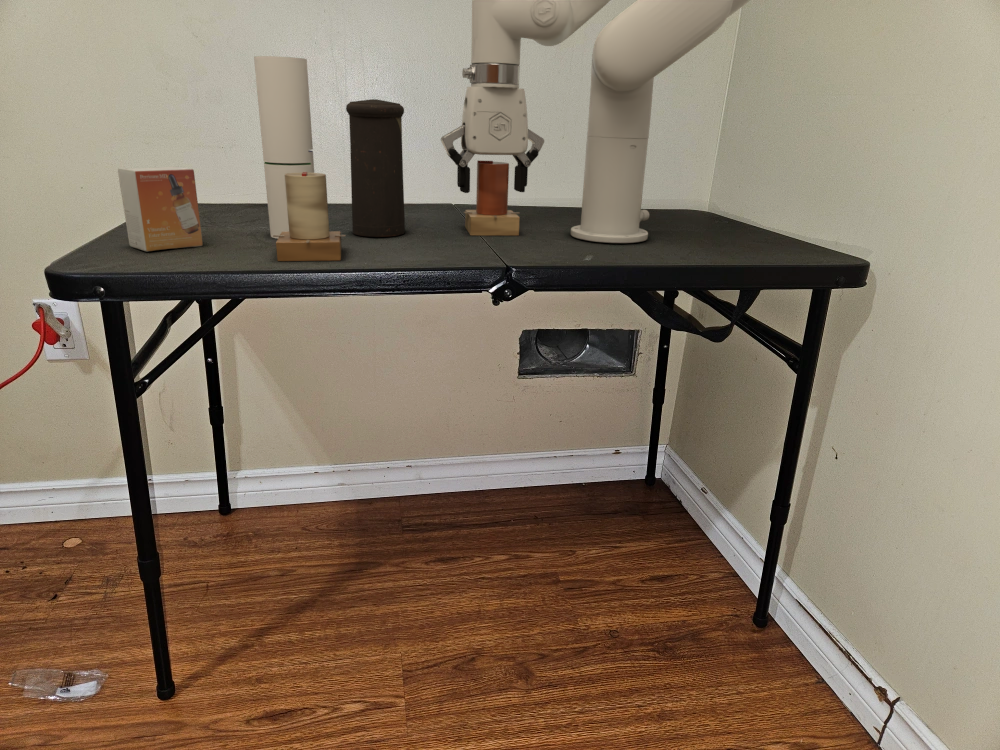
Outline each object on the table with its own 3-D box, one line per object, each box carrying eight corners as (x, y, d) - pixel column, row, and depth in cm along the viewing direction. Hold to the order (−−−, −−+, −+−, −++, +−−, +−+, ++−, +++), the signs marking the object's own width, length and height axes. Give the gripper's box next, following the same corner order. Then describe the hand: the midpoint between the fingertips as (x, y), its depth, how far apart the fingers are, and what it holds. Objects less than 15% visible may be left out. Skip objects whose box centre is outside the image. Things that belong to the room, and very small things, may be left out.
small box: (145, 253, 90) (132, 170, 86) (128, 246, 94) (115, 167, 90) (204, 246, 96) (194, 168, 92) (186, 240, 99) (176, 165, 95)
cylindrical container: (324, 232, 108) (313, 60, 99) (308, 240, 102) (295, 56, 93) (281, 230, 109) (266, 59, 100) (262, 238, 102) (245, 55, 93)
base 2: (460, 226, 118) (460, 208, 117) (514, 226, 119) (514, 208, 118) (466, 236, 109) (466, 216, 108) (523, 236, 111) (524, 216, 110)
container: (416, 232, 111) (415, 100, 104) (386, 240, 104) (381, 99, 97) (372, 227, 115) (368, 99, 107) (339, 234, 107) (332, 97, 100)
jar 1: (291, 232, 93) (286, 169, 90) (330, 232, 94) (326, 170, 91) (288, 239, 89) (282, 173, 86) (329, 239, 90) (324, 174, 87)
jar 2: (505, 210, 116) (506, 160, 113) (509, 215, 111) (511, 162, 108) (474, 210, 115) (475, 159, 112) (477, 215, 110) (478, 161, 107)
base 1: (278, 248, 96) (276, 229, 95) (346, 247, 98) (345, 229, 97) (271, 262, 87) (269, 241, 86) (346, 261, 89) (345, 241, 88)
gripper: (448, 74, 100) (448, 195, 106) (555, 80, 105) (549, 193, 112) (434, 76, 106) (435, 189, 112) (536, 81, 112) (532, 188, 118)
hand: (492, 191), depth 112 cm, fingers open, 9 cm apart
